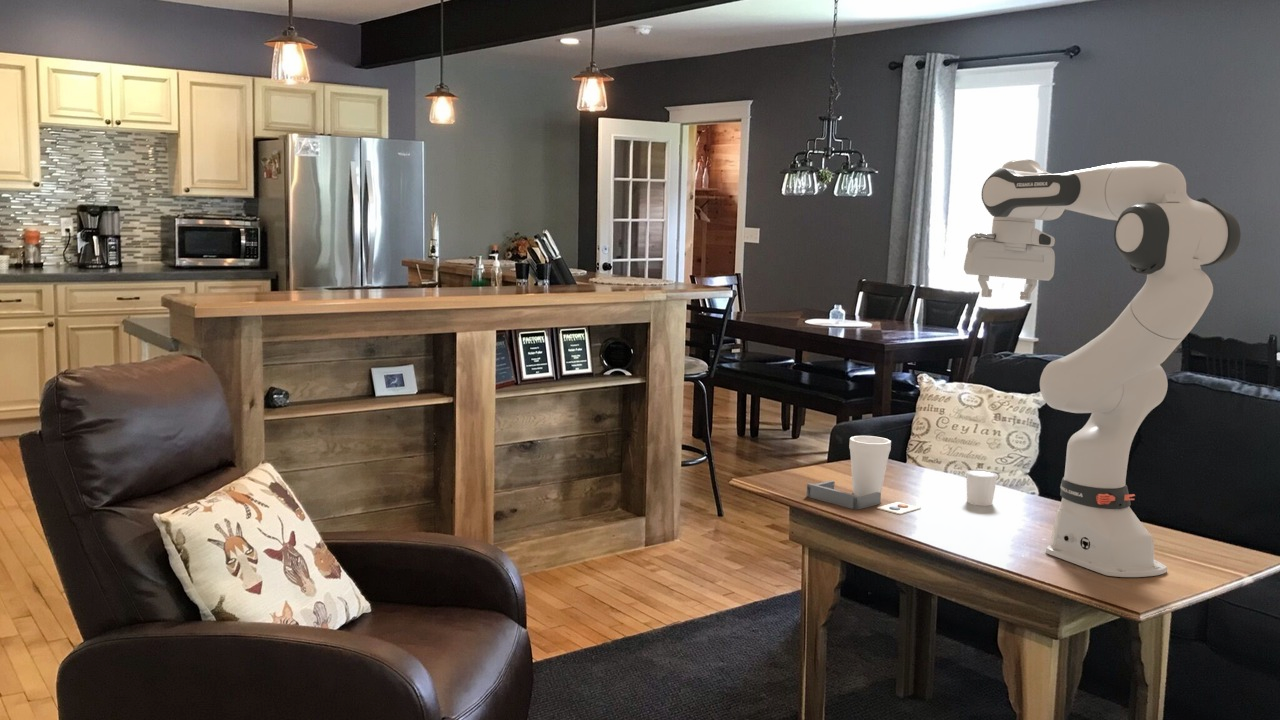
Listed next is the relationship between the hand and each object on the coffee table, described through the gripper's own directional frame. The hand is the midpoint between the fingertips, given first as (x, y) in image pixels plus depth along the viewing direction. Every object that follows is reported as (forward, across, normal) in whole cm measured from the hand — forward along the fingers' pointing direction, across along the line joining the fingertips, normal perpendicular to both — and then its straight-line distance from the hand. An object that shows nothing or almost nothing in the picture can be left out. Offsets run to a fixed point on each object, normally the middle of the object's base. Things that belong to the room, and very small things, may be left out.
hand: (1005, 298), depth 234 cm
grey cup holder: (+49, -29, +11) cm, 58 cm away
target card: (+48, -19, +3) cm, 52 cm away
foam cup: (+48, -21, +16) cm, 55 cm away
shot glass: (+48, +3, +6) cm, 48 cm away
